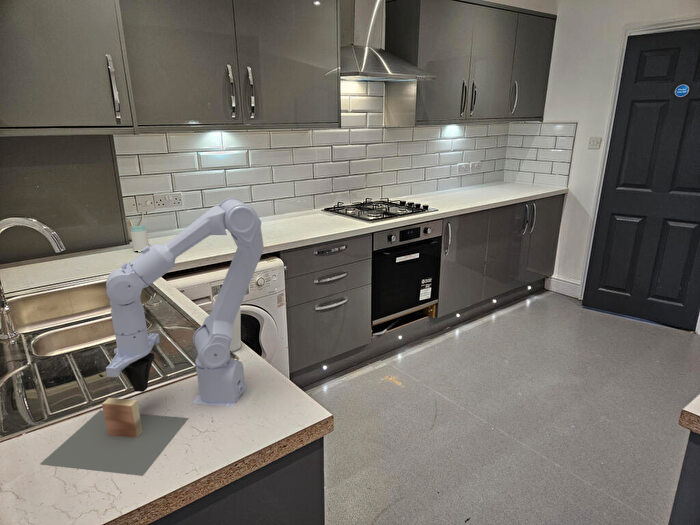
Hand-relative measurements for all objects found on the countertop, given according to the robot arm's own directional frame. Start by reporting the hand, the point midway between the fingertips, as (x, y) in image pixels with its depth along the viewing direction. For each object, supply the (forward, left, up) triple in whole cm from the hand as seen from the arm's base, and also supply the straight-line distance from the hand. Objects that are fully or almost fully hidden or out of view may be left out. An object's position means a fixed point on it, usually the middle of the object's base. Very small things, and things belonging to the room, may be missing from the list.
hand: (140, 389), depth 93 cm
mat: (0, +8, -6) cm, 10 cm away
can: (+78, -121, -6) cm, 144 cm away
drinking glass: (-6, -31, -6) cm, 32 cm away
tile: (0, +6, -6) cm, 9 cm away
